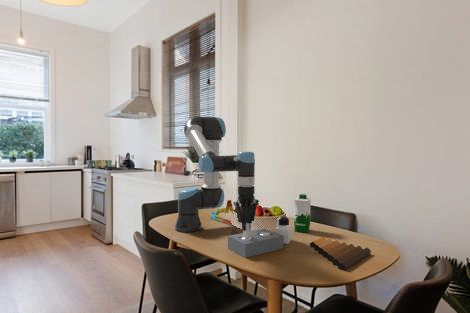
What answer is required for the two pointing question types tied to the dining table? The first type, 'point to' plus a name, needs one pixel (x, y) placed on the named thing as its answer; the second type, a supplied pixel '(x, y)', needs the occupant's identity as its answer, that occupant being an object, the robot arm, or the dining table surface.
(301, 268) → the dining table surface
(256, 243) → the peg block
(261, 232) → the steel peg
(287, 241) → the medicine bottle
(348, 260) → the pan flute
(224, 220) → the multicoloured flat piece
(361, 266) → the dining table surface
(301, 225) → the milk carton
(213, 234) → the dining table surface
